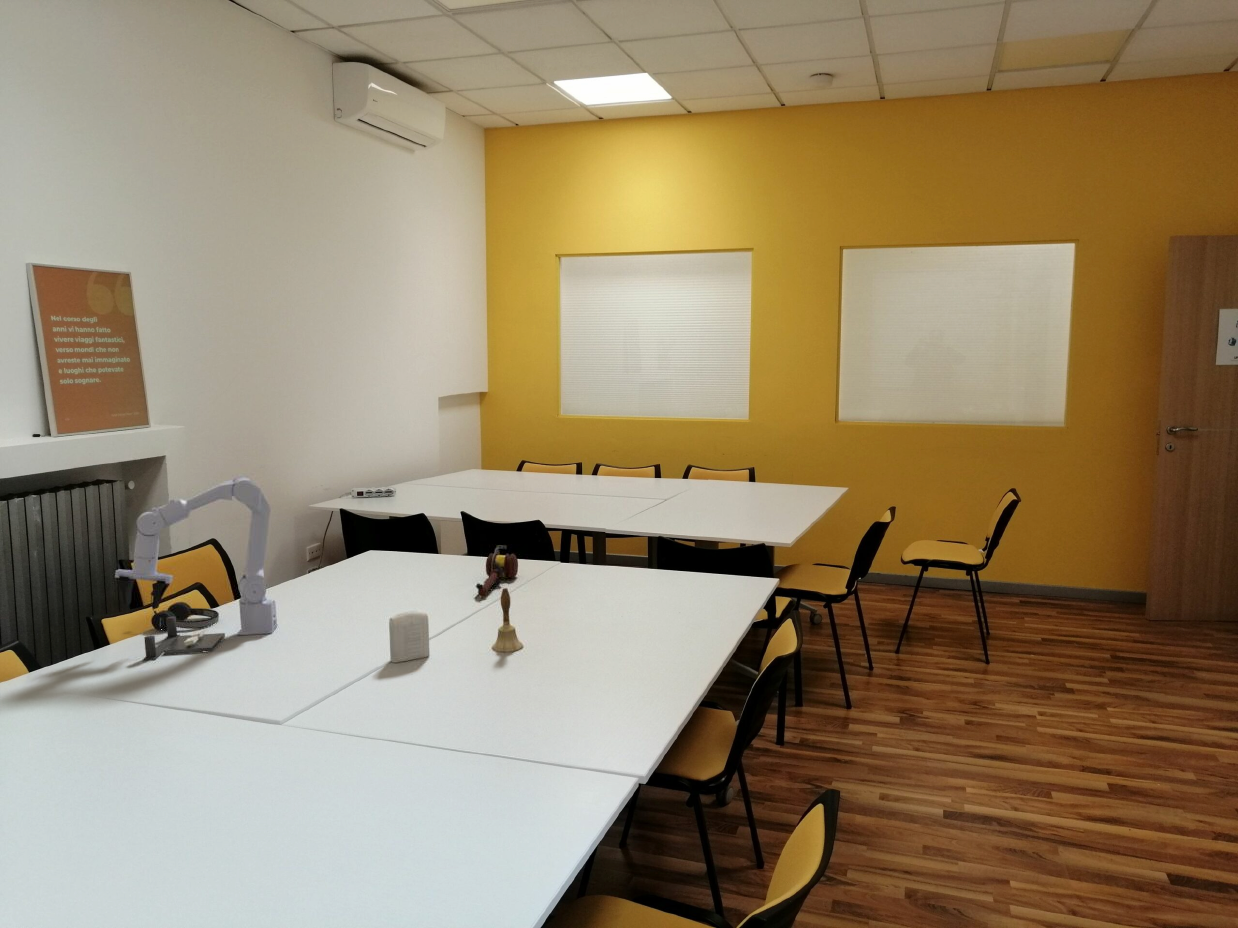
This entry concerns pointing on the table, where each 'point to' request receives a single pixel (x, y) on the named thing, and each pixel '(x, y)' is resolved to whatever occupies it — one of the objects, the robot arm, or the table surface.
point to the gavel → (498, 570)
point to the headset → (183, 616)
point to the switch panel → (202, 644)
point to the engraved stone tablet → (409, 636)
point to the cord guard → (155, 652)
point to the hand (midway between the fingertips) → (141, 606)
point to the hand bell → (506, 629)
